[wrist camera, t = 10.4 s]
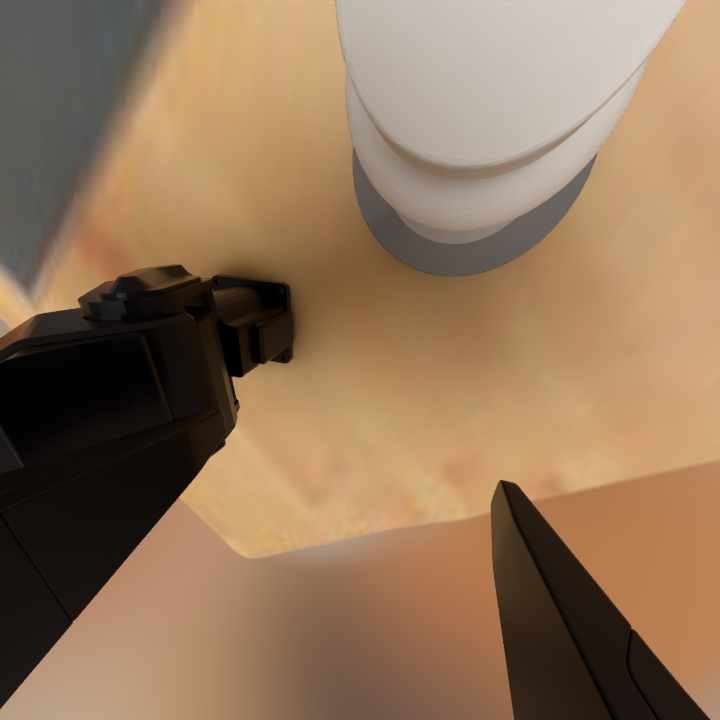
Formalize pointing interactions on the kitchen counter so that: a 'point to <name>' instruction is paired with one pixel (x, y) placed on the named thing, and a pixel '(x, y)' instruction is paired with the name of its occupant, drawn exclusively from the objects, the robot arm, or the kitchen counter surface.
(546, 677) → the robot arm
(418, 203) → the supplement bottle
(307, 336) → the kitchen counter surface
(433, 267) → the gray plate
